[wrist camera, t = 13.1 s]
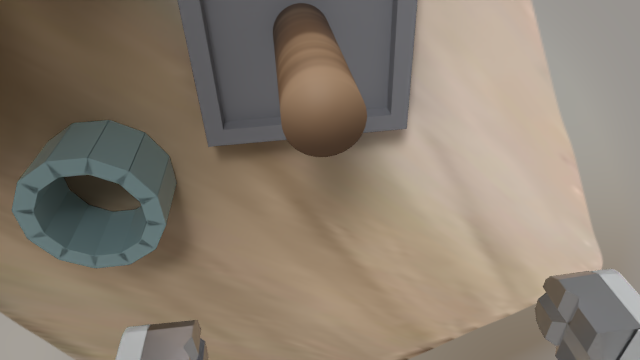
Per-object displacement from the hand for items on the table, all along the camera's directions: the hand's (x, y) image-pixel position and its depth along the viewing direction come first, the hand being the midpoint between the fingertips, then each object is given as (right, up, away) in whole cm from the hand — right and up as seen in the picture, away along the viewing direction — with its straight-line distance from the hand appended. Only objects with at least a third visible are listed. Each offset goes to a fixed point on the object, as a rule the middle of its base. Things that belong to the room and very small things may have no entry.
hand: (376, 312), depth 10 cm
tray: (-3, +13, +19) cm, 23 cm away
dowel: (-2, +12, +18) cm, 22 cm away
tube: (-17, +3, +23) cm, 29 cm away
